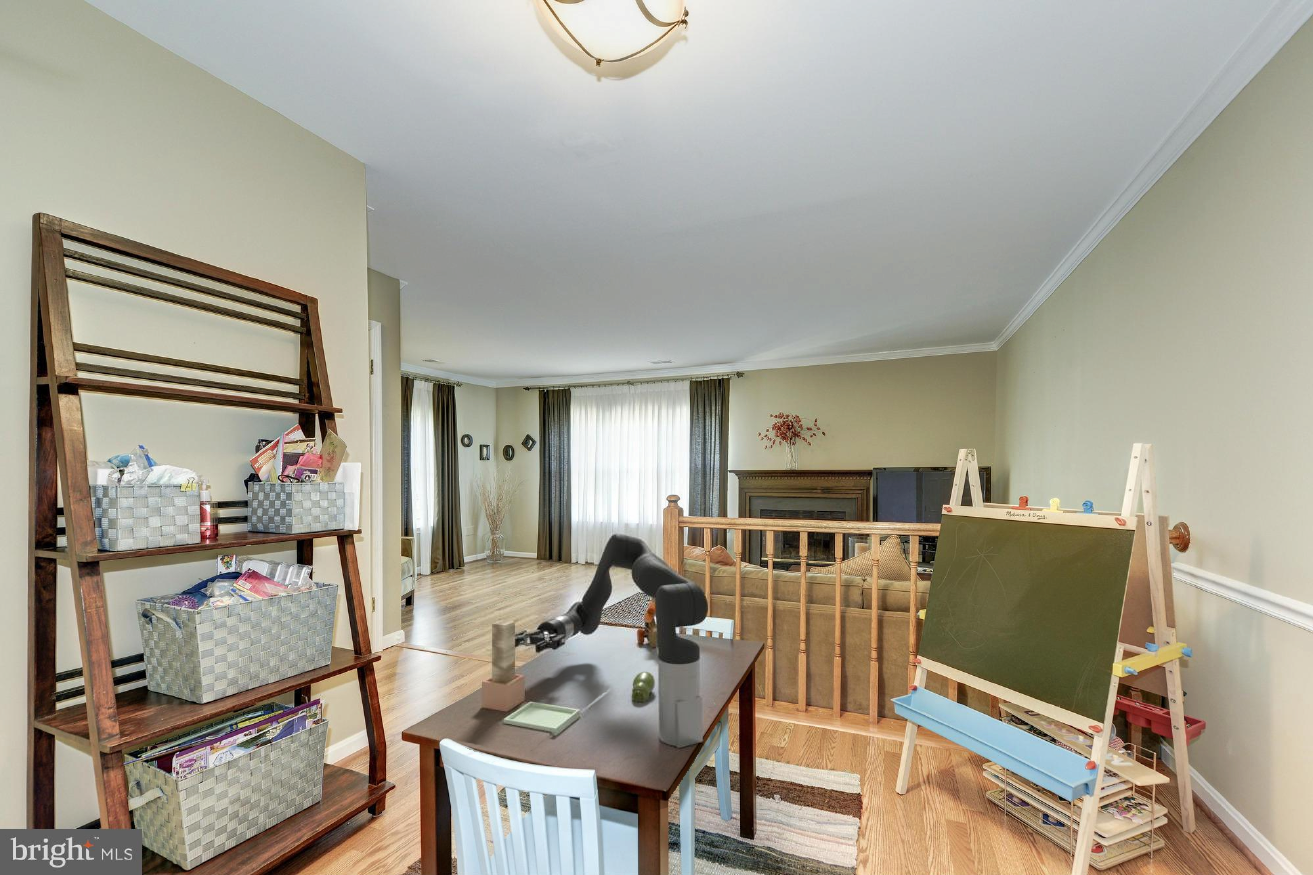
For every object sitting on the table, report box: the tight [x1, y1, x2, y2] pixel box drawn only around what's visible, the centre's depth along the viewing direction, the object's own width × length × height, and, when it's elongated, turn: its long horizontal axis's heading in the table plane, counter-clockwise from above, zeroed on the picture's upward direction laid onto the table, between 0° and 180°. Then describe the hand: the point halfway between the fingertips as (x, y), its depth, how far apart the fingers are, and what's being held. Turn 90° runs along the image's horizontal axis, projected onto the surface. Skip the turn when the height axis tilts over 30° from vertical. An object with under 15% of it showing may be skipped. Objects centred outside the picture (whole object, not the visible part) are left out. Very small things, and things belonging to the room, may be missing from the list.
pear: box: [631, 671, 656, 703], centre depth 155 cm, size 6×5×10 cm
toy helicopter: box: [636, 601, 658, 649], centre depth 195 cm, size 8×21×14 cm, turn 12°
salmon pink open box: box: [481, 673, 526, 712], centre depth 149 cm, size 7×7×7 cm
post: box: [491, 619, 516, 684], centre depth 149 cm, size 4×4×20 cm
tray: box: [503, 701, 581, 737], centre depth 140 cm, size 14×11×2 cm
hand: (522, 647), depth 157 cm, fingers open, 8 cm apart
